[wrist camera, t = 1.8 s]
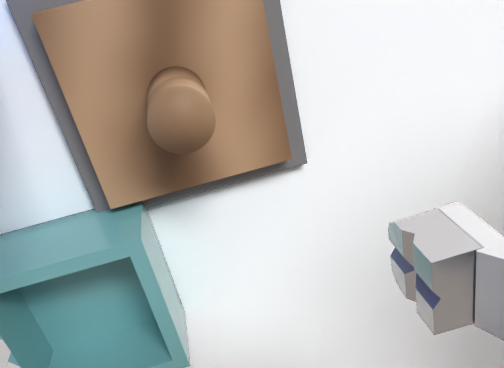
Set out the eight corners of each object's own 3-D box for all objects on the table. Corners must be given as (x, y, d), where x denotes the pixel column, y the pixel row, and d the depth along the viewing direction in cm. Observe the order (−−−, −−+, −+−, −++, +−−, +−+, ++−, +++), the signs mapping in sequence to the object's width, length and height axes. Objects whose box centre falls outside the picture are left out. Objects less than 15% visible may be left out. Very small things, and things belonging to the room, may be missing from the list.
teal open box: (142, 195, 27) (140, 238, 23) (185, 312, 31) (190, 365, 27) (-19, 239, 26) (-48, 291, 22) (47, 352, 31) (33, 413, 27)
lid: (251, -41, 22) (276, -37, 18) (287, 152, 27) (314, 192, 23) (35, 11, 21) (7, 29, 17) (112, 200, 26) (104, 252, 22)
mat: (265, -70, 22) (267, -70, 22) (304, 158, 28) (307, 162, 27) (6, -8, 21) (3, -7, 21) (101, 215, 27) (100, 220, 27)
